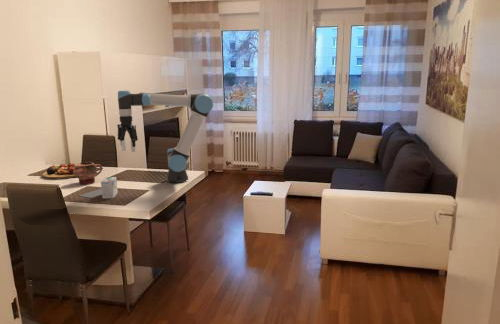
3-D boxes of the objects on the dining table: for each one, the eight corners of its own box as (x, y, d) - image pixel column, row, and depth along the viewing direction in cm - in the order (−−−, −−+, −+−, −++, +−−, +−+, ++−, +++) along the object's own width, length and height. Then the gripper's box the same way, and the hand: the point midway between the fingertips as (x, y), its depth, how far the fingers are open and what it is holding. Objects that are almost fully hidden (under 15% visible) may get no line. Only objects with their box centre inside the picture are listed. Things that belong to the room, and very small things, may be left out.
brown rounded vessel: (98, 178, 278) (96, 159, 275) (107, 180, 270) (105, 161, 267) (71, 183, 263) (68, 164, 260) (79, 187, 255) (76, 166, 252)
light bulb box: (107, 193, 240) (105, 177, 238) (118, 193, 241) (116, 176, 238) (102, 198, 230) (100, 181, 227) (113, 198, 230) (112, 181, 228)
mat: (114, 190, 246) (113, 190, 246) (90, 198, 230) (90, 198, 230) (102, 188, 251) (101, 188, 251) (78, 195, 235) (78, 195, 235)
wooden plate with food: (92, 175, 286) (91, 165, 284) (45, 182, 268) (43, 170, 267) (83, 168, 312) (82, 158, 310) (40, 174, 294) (38, 163, 293)
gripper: (142, 115, 237) (144, 151, 242) (118, 114, 247) (121, 149, 252) (133, 116, 231) (136, 153, 236) (109, 115, 240) (112, 151, 245)
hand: (128, 151), depth 244 cm, fingers open, 8 cm apart
